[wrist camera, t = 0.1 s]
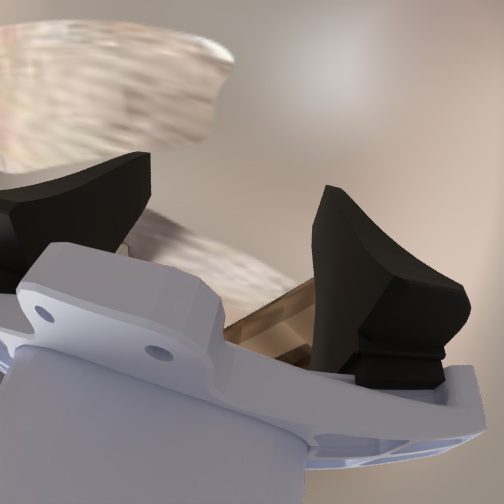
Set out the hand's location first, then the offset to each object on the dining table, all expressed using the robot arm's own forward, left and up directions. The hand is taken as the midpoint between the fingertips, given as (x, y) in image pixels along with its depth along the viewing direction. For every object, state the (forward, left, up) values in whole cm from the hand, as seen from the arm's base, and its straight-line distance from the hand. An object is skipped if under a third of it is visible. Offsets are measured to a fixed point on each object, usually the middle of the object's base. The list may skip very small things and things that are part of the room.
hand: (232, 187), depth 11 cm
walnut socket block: (-9, -18, -11) cm, 23 cm away
